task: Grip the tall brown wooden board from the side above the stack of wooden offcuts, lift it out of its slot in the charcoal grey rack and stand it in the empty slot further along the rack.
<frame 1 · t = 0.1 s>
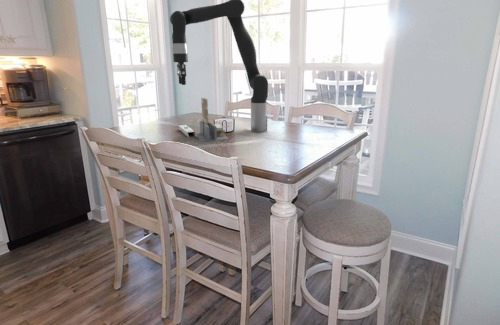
hand: (182, 84, 177), 29 cm above the table, tool pointing down, fingers open, 8 cm apart
brown wooden board: (205, 133, 185), point 1 cm above the table, touching rack
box: (188, 137, 186), on the table
offcut 3: (216, 128, 184), point 4 cm above the table, touching offcut 2
offcut 1: (217, 134, 185), point 1 cm above the table, touching offcut 2, rack
offcut 2: (217, 131, 184), point 3 cm above the table, touching offcut 1, offcut 3
rack: (210, 138, 181), on the table
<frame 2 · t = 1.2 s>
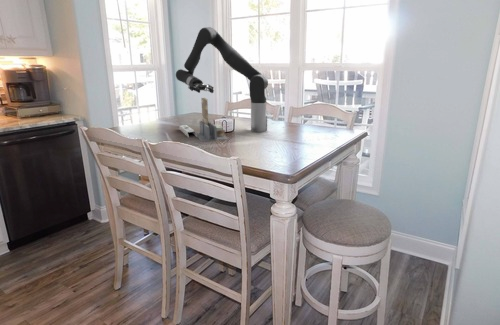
hand: (206, 91, 189), 24 cm above the table, tool horizontal, fingers open, 8 cm apart
nothing on the table moved.
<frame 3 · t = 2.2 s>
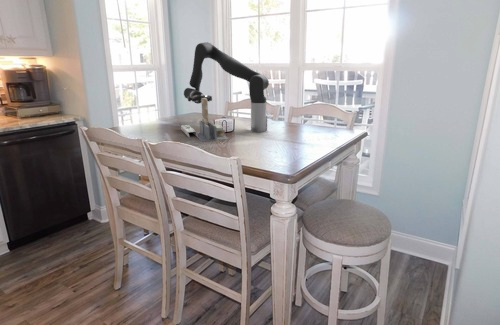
hand: (202, 99, 192), 19 cm above the table, tool horizontal, fingers open, 8 cm apart
nothing on the table moved.
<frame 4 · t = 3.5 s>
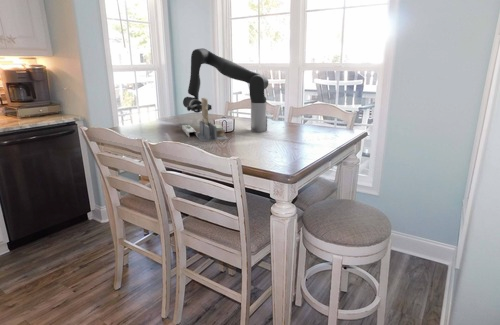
hand: (201, 109, 189), 14 cm above the table, tool horizontal, fingers open, 8 cm apart
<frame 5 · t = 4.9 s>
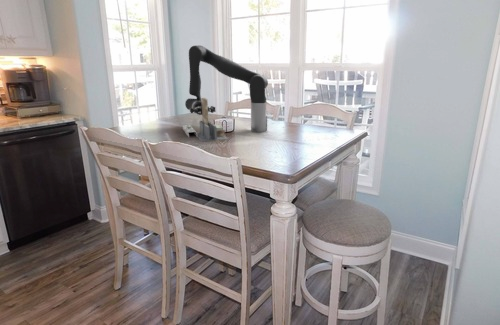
hand: (205, 111, 181), 14 cm above the table, tool horizontal, fingers open, 8 cm apart
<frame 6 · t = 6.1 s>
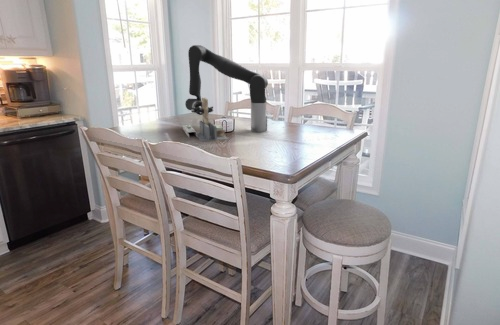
hand: (206, 111, 179), 15 cm above the table, tool horizontal, fingers closed on brown wooden board, 1 cm apart
brown wooden board: (206, 133, 185), point 2 cm above the table, touching gripper
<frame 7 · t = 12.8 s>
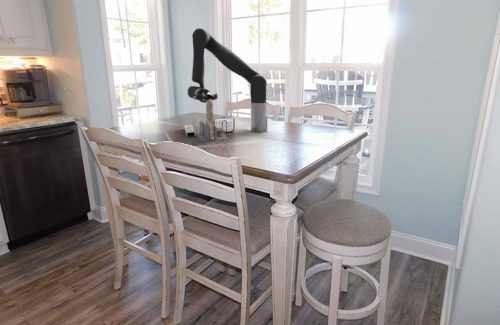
hand: (210, 98, 167), 23 cm above the table, tool horizontal, fingers open, 3 cm apart
brown wooden board: (211, 138, 174), point 2 cm above the table, touching rack
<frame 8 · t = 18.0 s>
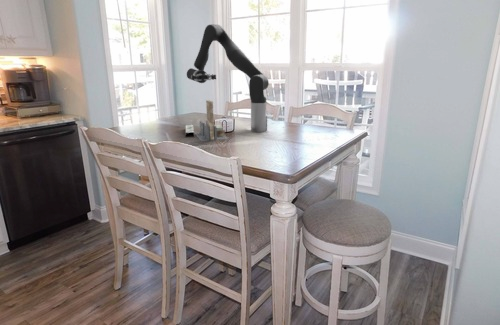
hand: (206, 77, 186), 32 cm above the table, tool horizontal, fingers open, 8 cm apart
at the end: brown wooden board 2.0 cm from the target spot, point 1.5 cm above the table; brown wooden board tilted 0°; the gripper is holding nothing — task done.
